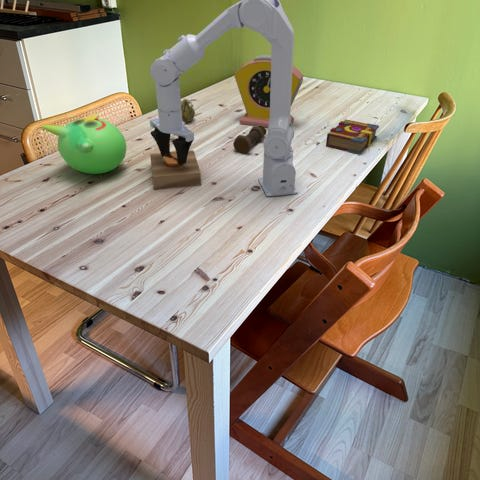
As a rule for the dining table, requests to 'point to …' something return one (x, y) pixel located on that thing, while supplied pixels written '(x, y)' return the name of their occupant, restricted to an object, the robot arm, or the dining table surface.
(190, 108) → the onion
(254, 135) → the bolt
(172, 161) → the orange short cylinder
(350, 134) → the decorative book
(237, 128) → the dining table surface
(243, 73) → the yellow mantel clock
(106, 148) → the toy bird
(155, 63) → the robot arm
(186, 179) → the block
